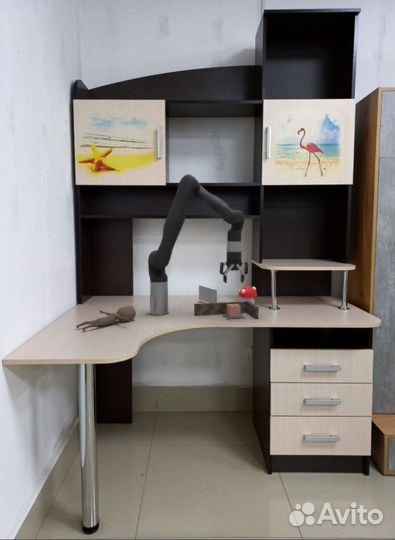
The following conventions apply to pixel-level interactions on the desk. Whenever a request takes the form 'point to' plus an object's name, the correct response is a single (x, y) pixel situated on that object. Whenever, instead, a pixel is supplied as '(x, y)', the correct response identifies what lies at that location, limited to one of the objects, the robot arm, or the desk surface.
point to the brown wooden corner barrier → (225, 308)
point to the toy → (112, 317)
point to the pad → (233, 317)
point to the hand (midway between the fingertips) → (233, 282)
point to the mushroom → (247, 294)
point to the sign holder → (207, 295)
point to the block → (233, 310)
